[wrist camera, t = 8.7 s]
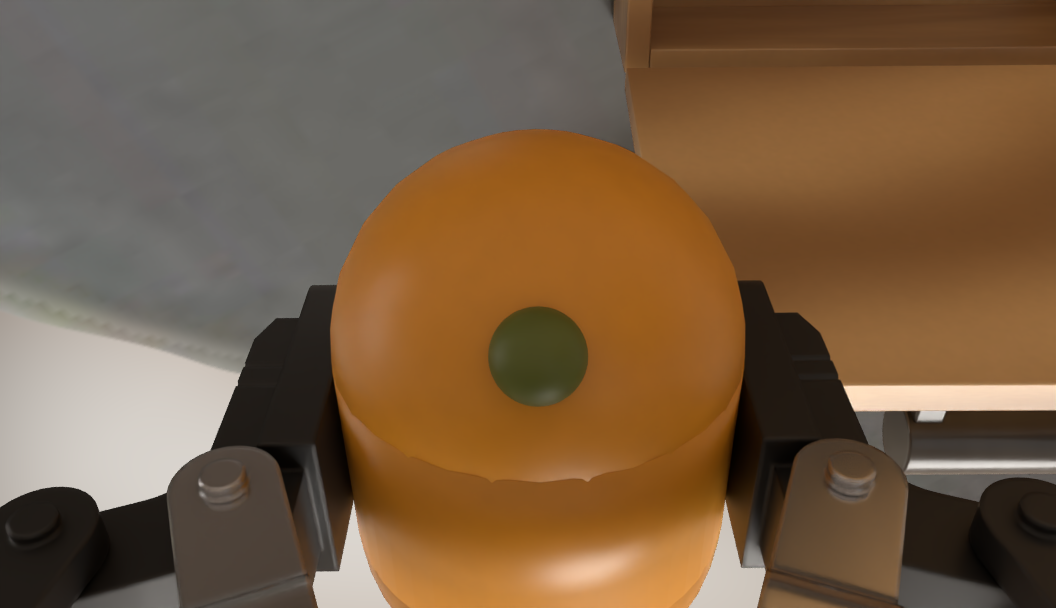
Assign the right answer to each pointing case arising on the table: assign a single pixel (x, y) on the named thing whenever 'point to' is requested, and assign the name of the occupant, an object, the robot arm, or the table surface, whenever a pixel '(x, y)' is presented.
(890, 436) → the lid
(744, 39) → the wooden box
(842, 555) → the robot arm
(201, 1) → the table surface
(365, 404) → the mango
